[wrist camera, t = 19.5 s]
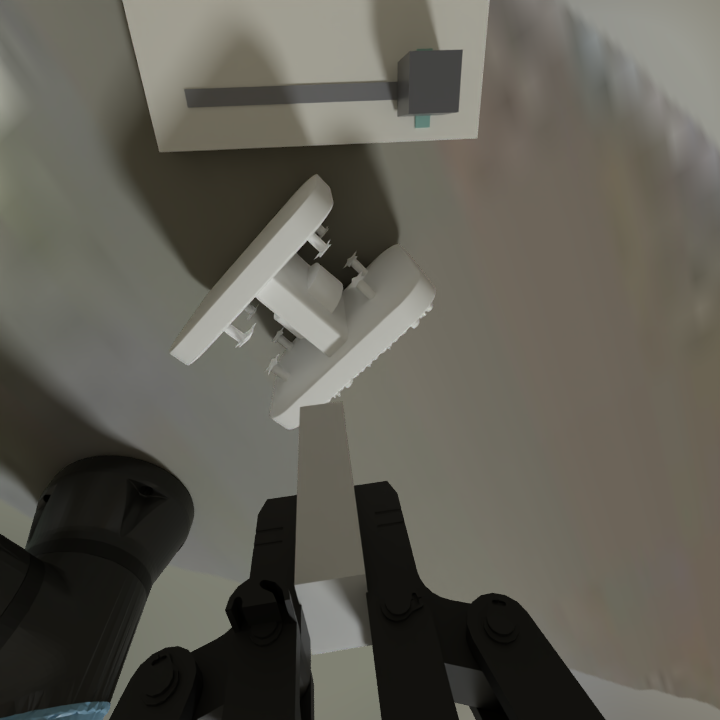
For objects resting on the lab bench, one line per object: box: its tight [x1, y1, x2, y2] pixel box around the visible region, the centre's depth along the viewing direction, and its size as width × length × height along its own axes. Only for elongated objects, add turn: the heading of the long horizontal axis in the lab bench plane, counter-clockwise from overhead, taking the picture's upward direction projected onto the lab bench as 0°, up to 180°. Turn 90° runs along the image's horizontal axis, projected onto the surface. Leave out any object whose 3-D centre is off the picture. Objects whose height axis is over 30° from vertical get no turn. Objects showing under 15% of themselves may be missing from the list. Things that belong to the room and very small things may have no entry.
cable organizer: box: [169, 174, 436, 430], centre depth 30 cm, size 15×11×12 cm
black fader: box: [397, 50, 463, 117], centre depth 25 cm, size 3×3×4 cm
